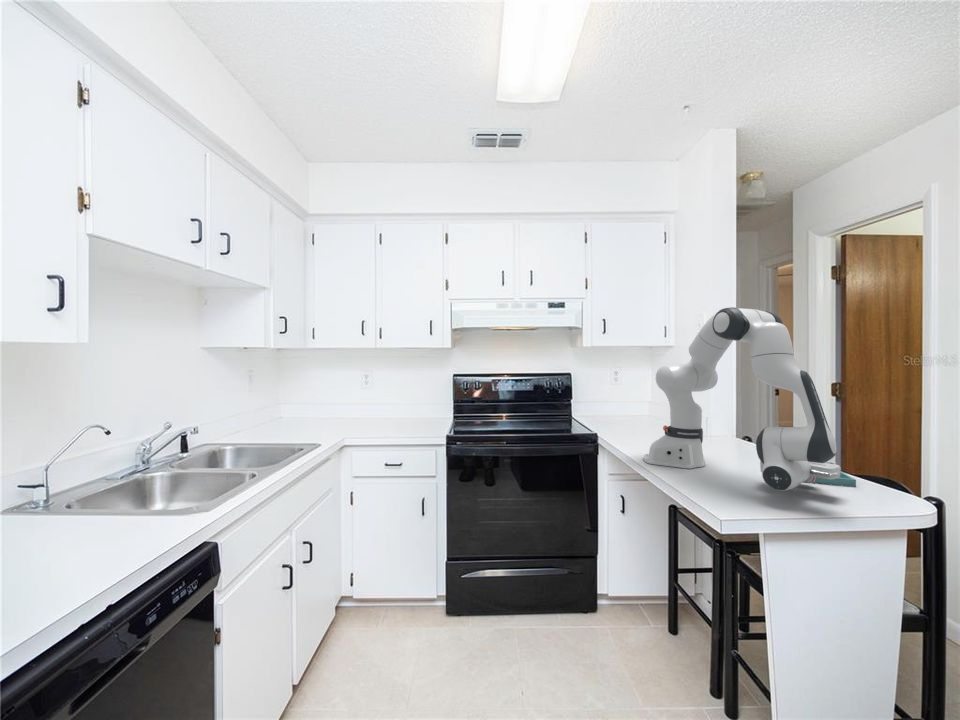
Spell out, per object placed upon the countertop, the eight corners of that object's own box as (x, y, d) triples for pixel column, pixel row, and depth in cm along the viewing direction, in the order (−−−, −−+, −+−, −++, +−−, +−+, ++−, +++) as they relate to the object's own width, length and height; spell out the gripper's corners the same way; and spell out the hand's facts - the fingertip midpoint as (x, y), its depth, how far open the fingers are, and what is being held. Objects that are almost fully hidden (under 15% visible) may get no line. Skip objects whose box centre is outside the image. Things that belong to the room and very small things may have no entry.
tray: (805, 482, 146) (805, 475, 146) (790, 472, 158) (791, 465, 158) (855, 487, 142) (856, 479, 142) (837, 476, 154) (837, 469, 154)
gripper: (836, 465, 125) (846, 458, 134) (755, 452, 141) (769, 446, 150) (835, 487, 125) (845, 478, 134) (755, 471, 141) (769, 464, 150)
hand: (804, 461), depth 142 cm, fingers closed on soda can, 7 cm apart
